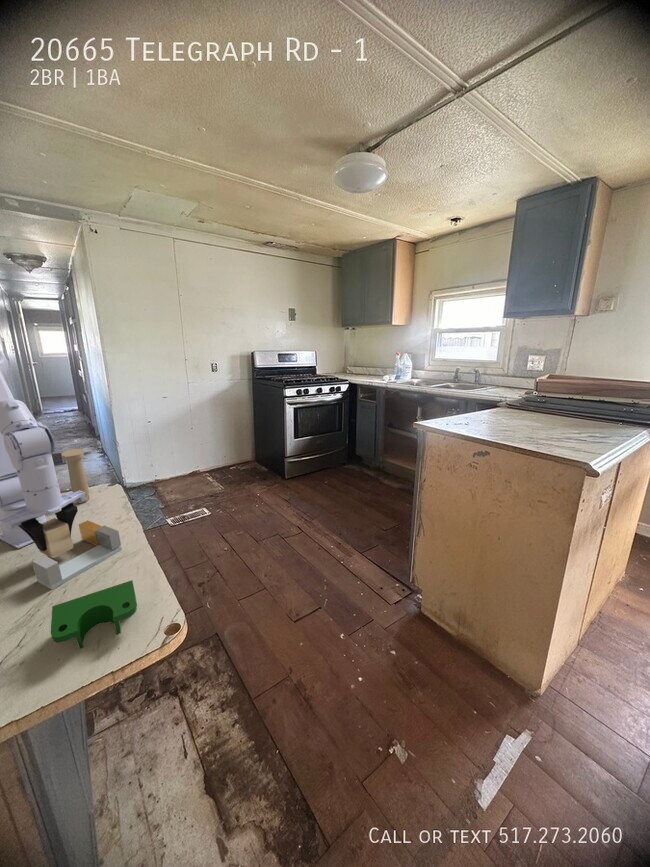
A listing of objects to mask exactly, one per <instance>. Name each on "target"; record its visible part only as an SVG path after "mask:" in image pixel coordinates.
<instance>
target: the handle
mask: <svg viewBox="0 0 650 867" xmlns="http://www.w3.org/2000/svg"><path fill="white" fill-rule="evenodd" d="M84 454H85V453H84V450H83V449H82V448H81V449H80V448H71V449H68V450H64V451H63V452H61V458H62V460H63V461H66V463H67V470H68V475H69V476H68V477H69V483H70V484H69V485H70V487H71V491H72V492H71V493H73V492H76V491H79V490H80V491H83V492H85V496H86V500H84V501H78V502H76V503H79V504H83V503H86V502H89V500H90V495H89V494H90V491H89V485H88V484H89V483H88V480H87V476H86V472H85V469H84V466H83V462H82V458H84V456H85V455H84Z"/></svg>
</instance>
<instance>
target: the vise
mask: <svg viewBox="0 0 650 867" xmlns="http://www.w3.org/2000/svg"><path fill="white" fill-rule="evenodd" d="M122 549H123V548H122V545H121V546H119V547H117V548H115V549H114V550H111V549H109V548H106V547H104V546H102V545H98V546H96V545H95V546H94V547H93V548H91V549H89V550H87V551H85V552H83V553H81V554H79V555H78V556H75V557H74V558H71V559H70V560H68V561H66V562H64V563H62V564H61V565H59V562H58V561H56V560H54V559H53V558H51V557H49V556H47V555H45V554H43V555H41V556H39V557H37V558H35V559H33V560H31V563H32V567H33V571H34V574H35V577H36V580H37V582H38V583H39V584H41V585H43V586H44V587H46V588H47V589H49V590H54V589H56V588H57V587H59V586H61V585H63V584H64V583H66V582H68V581H69V580H72V579H73V578H75V577H77V576H78V575H80V574H82V573H83V572H85V571H87V570H88V569H91V568H92V567H94V566H96V565H97V564H99V563H101V562H102V561H104V560H106V559H108V558H110V557H111V556H113V555H116V553H117V554H118V553H119V552H120V551H121V550H122Z"/></svg>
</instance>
